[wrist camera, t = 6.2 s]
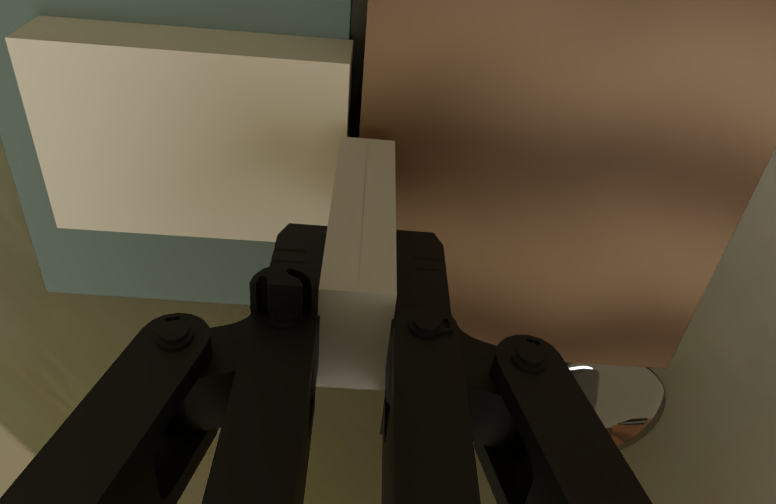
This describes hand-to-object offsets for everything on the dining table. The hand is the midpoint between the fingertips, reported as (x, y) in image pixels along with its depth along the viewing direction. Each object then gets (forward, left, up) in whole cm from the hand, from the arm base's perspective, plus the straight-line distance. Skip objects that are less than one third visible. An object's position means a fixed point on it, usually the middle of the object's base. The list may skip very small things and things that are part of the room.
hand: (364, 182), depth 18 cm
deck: (0, -6, -3) cm, 7 cm away
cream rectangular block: (0, +5, -3) cm, 6 cm away
